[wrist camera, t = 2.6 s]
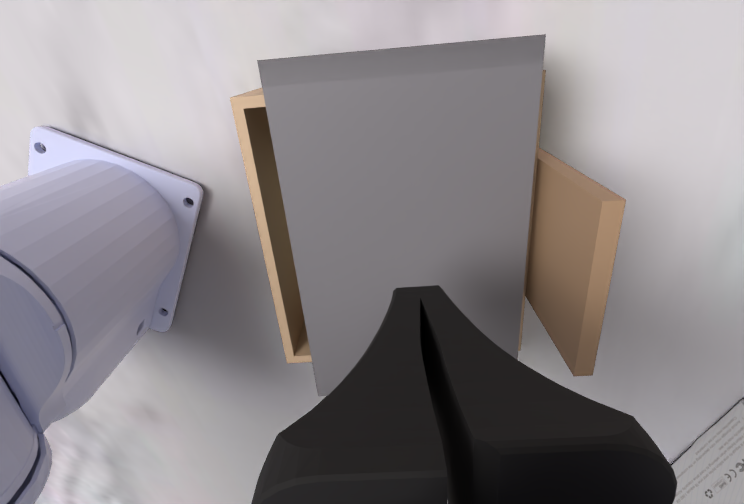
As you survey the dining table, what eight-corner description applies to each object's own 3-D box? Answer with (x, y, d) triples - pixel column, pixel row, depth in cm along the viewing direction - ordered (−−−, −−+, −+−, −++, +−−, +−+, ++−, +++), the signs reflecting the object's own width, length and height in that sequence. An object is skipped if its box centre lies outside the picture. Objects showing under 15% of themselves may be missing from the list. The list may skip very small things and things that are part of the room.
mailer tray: (301, 312, 24) (260, 454, 15) (260, 87, 19) (164, 118, 10) (507, 300, 23) (580, 440, 15) (524, 65, 18) (649, 76, 10)
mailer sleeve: (330, 324, 24) (318, 396, 19) (290, 58, 18) (257, 60, 13) (486, 315, 24) (514, 386, 19) (498, 38, 18) (545, 34, 13)
